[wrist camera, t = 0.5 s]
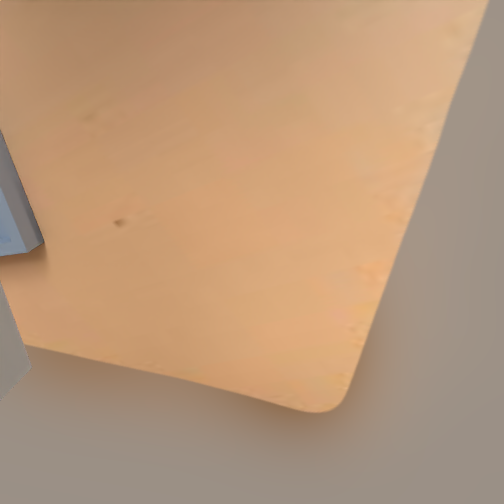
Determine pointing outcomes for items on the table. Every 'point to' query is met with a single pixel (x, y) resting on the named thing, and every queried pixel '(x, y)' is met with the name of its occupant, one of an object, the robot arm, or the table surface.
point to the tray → (15, 210)
